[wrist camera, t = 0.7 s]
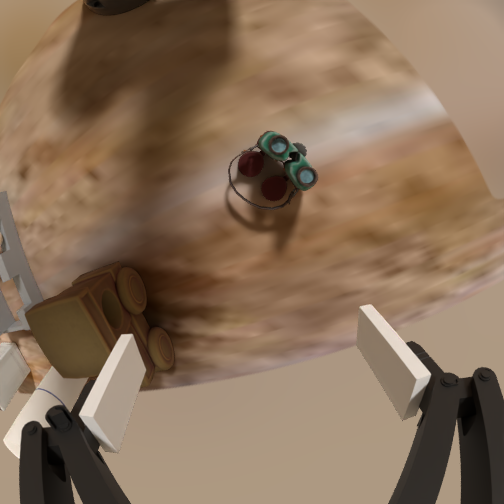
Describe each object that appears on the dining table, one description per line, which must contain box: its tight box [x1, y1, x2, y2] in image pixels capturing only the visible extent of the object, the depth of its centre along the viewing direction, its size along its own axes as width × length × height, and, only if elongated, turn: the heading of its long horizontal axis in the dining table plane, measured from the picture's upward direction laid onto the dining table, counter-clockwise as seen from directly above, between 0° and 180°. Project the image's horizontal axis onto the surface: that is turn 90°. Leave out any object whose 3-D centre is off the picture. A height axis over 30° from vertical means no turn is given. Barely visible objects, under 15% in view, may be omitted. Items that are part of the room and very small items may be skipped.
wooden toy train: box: [24, 262, 174, 388], centre depth 35 cm, size 20×11×17 cm, turn 17°
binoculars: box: [228, 131, 318, 210], centre depth 33 cm, size 9×10×10 cm
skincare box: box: [0, 342, 31, 411], centre depth 38 cm, size 8×6×15 cm
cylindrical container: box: [4, 366, 89, 459], centre depth 34 cm, size 7×7×25 cm
